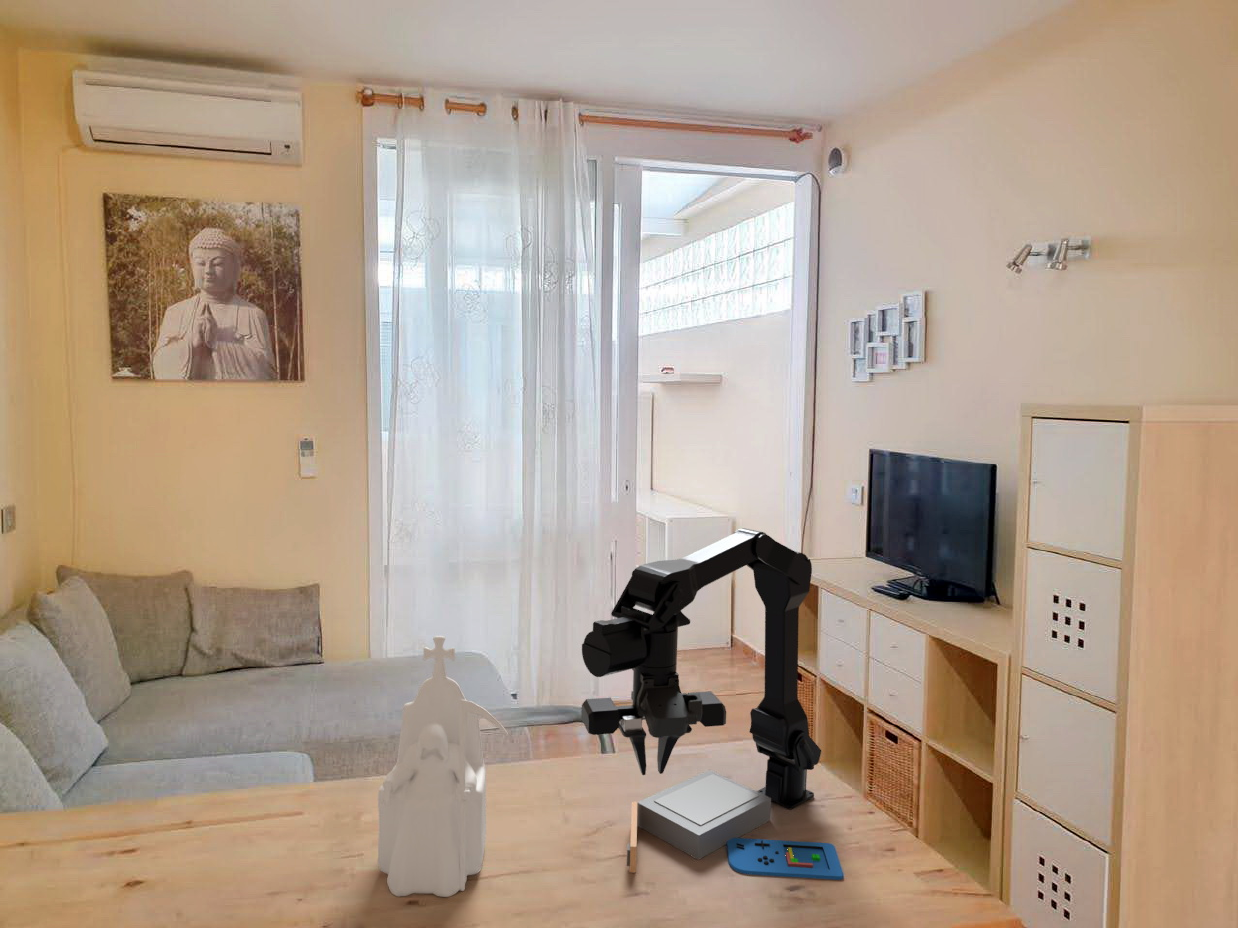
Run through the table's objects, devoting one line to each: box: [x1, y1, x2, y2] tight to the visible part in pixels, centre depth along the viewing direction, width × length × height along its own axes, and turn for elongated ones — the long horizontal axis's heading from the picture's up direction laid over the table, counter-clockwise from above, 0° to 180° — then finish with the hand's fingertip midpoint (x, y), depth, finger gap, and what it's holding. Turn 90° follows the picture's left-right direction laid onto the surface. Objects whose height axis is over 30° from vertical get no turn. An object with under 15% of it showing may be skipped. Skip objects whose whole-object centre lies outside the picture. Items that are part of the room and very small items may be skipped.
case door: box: [626, 801, 638, 873], centre depth 122 cm, size 1×12×4 cm, turn 178°
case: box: [636, 769, 772, 860], centre depth 129 cm, size 16×12×4 cm
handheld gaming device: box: [726, 837, 845, 881], centre depth 120 cm, size 8×1×15 cm
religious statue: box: [377, 635, 509, 898], centre depth 114 cm, size 17×14×30 cm
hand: (651, 773), depth 119 cm, fingers open, 2 cm apart
